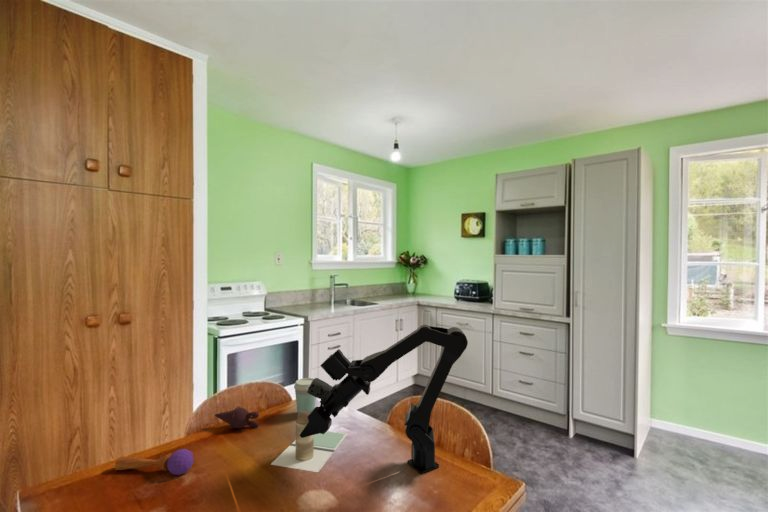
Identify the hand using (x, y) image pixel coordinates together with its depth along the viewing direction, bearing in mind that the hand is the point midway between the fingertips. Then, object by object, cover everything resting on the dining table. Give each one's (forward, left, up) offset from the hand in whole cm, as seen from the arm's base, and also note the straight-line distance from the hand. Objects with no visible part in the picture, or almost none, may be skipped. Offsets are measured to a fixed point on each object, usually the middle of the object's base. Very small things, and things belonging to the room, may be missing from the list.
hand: (306, 428), depth 104 cm
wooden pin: (0, 0, -8) cm, 8 cm away
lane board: (+4, -3, -8) cm, 9 cm away
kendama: (+15, +36, -9) cm, 40 cm away
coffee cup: (+28, -10, -8) cm, 31 cm away
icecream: (+30, +13, -8) cm, 33 cm away
